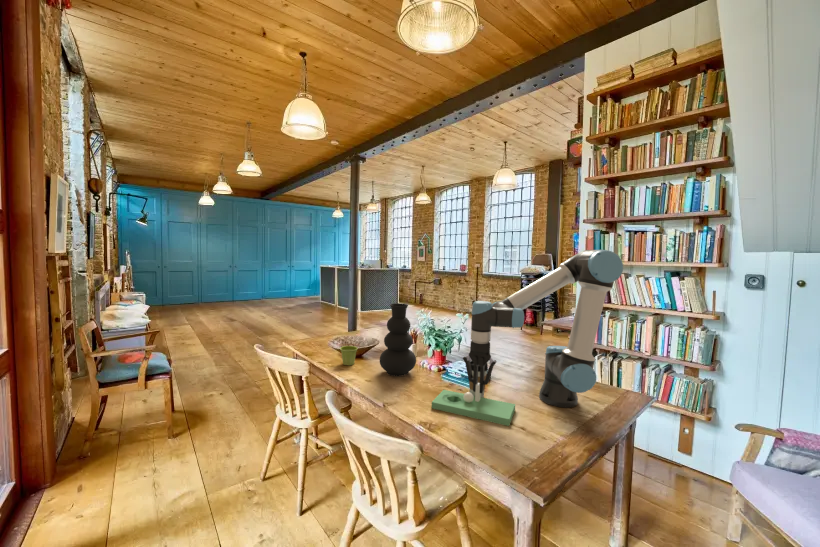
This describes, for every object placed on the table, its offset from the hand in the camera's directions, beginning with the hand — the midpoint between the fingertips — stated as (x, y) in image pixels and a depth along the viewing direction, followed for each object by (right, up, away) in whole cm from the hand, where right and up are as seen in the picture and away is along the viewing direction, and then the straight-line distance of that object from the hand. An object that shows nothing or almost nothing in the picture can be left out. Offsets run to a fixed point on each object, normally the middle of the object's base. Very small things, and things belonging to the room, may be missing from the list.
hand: (477, 400), depth 137 cm
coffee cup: (+2, -4, +13) cm, 14 cm away
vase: (-33, -1, +39) cm, 51 cm away
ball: (-3, +1, +1) cm, 4 cm away
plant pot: (-60, +1, +52) cm, 79 cm away
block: (-2, -4, +1) cm, 4 cm away
